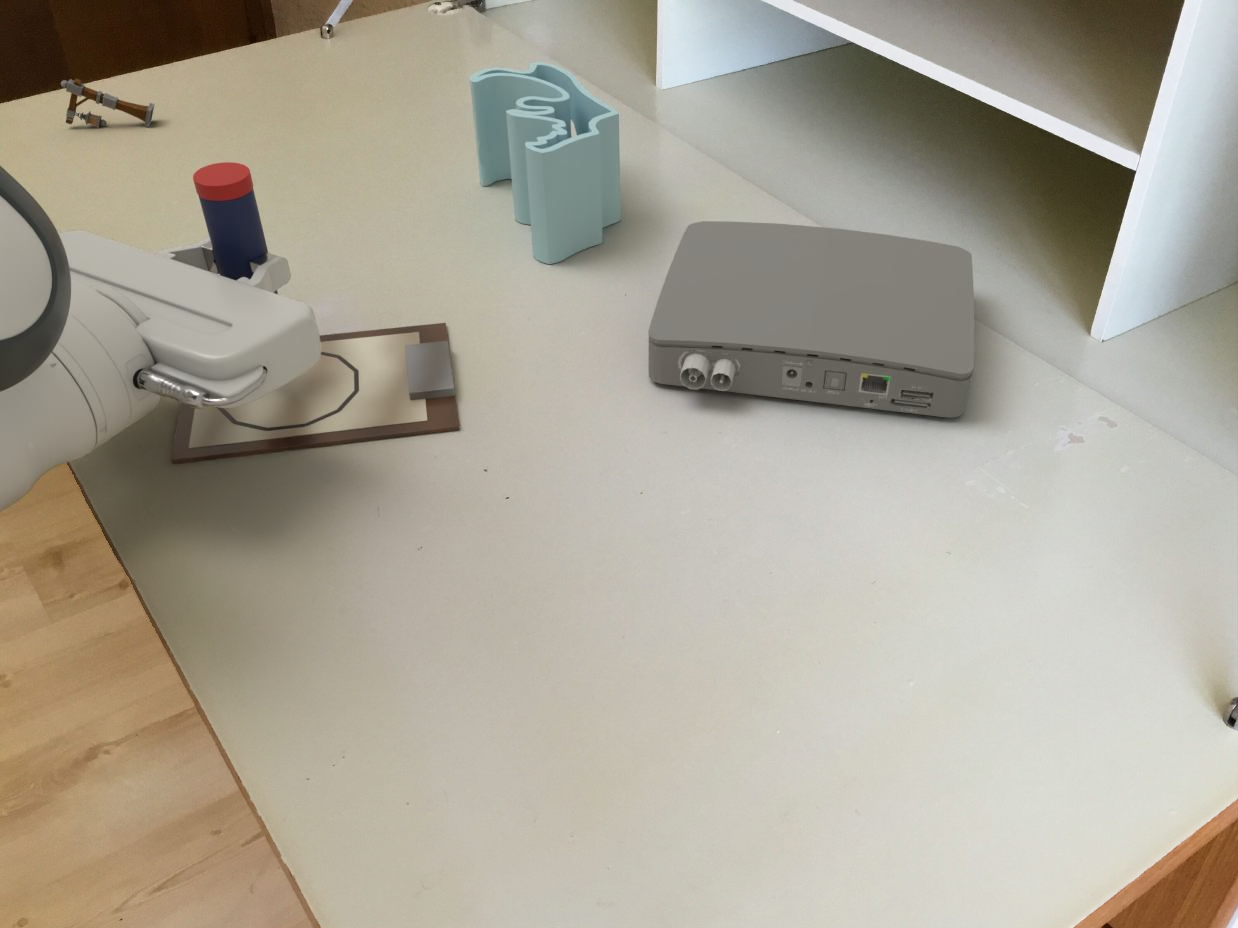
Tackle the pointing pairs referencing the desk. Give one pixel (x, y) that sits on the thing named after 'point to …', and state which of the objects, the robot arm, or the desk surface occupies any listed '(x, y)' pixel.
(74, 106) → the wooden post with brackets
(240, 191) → the marker
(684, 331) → the electronic device
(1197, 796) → the desk surface
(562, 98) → the squiggly pen holder
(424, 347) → the clipboard
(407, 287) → the desk surface
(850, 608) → the desk surface
